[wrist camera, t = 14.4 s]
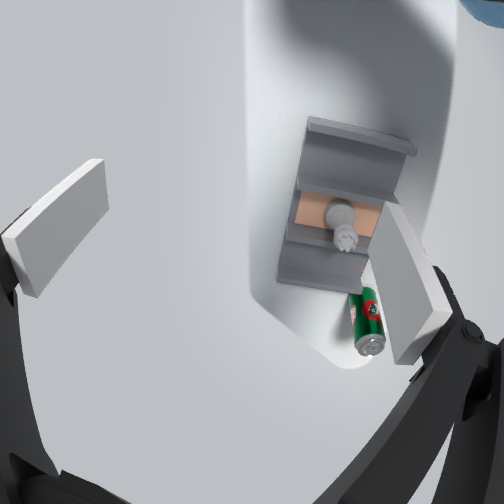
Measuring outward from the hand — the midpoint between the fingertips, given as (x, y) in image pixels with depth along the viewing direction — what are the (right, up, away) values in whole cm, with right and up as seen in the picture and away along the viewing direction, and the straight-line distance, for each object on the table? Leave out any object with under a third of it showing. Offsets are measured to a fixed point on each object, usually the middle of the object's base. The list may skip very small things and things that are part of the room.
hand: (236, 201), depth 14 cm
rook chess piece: (+13, +4, +31) cm, 34 cm away
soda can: (+20, -10, +41) cm, 47 cm away
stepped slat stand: (+13, +4, +31) cm, 34 cm away
